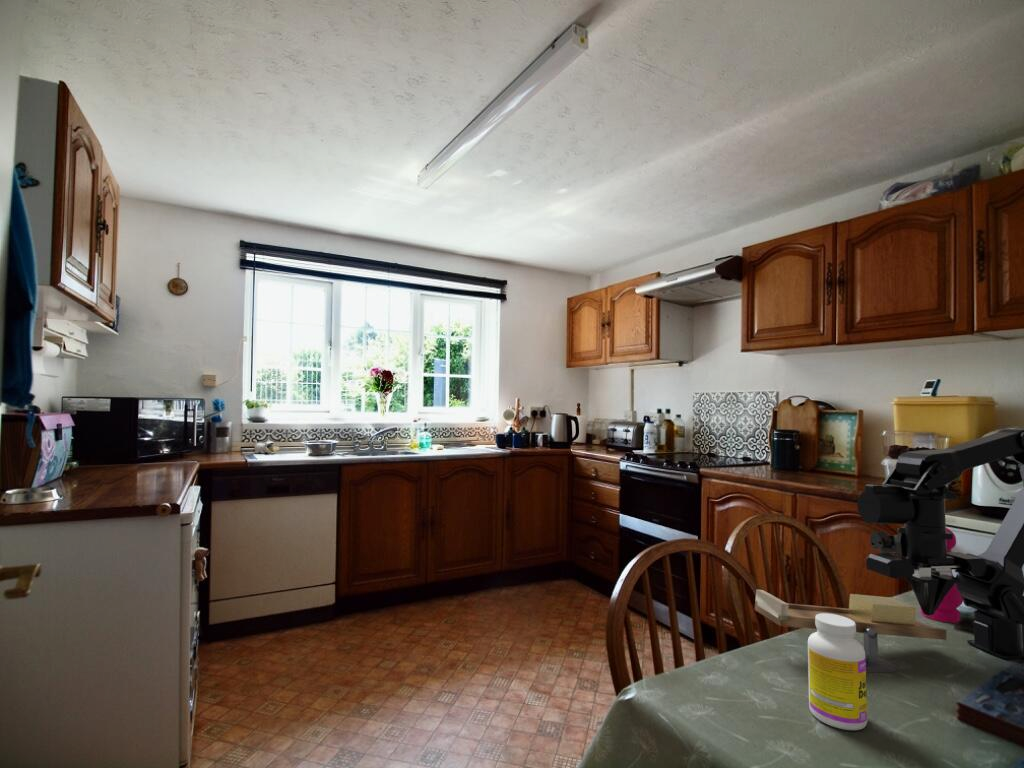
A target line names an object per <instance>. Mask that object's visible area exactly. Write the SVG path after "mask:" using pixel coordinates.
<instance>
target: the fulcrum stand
mask: <svg viewBox="0 0 1024 768" xmlns="http://www.w3.org/2000/svg"><path fill="white" fill-rule="evenodd" d="M825 607H829V606H825ZM862 634H863V648H864V650H865V663H866V674H868V673H885V672H886V673H887V672H896V670H897V669H896V667H897V666H896V665H895V664H893V663H891V662H890V661H887V660H886V659H884V658H882V657H881V656H879V645H878V644H879V643H878V641H879V640H878V639H879V638H878V634H877V632H876V631H875V630H874V629H872V628H870V627H865V628H864V632H863V633H862Z"/></svg>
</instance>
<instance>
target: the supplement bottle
mask: <svg viewBox="0 0 1024 768" xmlns="http://www.w3.org/2000/svg"><path fill="white" fill-rule="evenodd" d="M815 625H816V628H817V629H816V631H815V632H812V633H811V634H810V635H808V639H807V668H808V669H807V671H808V673H807V674H808V677H807V679H808V707H809V710H810V712H811V714H812V715H813V716H814V717H815V718H816V719H817V720H818V721H820V722H822V723H824V724H826V725H828V726H831V727H833V728H836V729H839V730H845V731H860V730H863V729H864V728H865V727H866V726H867V724H868V696H867V673H866V663H865V650H864V645H862V643H860V642H859V641H858V640H856V639H855V635H856V634H857V632H856V624H855V622H854V621H853V620H851V619H849V618H846V617H843V616H840V615H835V614H828V613H821V614H817V615H816V616H815Z"/></svg>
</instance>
